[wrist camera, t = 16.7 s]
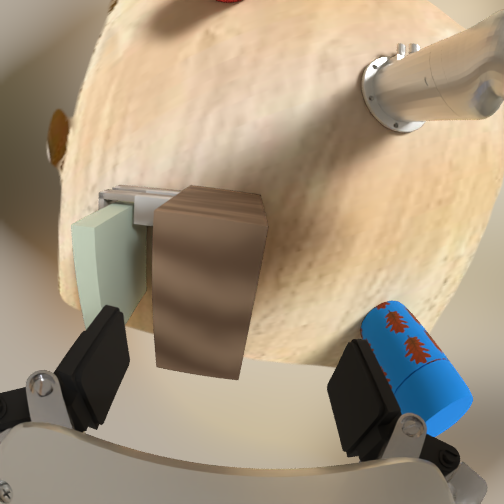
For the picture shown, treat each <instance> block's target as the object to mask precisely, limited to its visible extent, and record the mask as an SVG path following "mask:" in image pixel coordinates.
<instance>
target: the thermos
mask: <svg viewBox="0 0 504 504" xmlns="http://www.w3.org/2000/svg"><path fill="white" fill-rule="evenodd" d="M360 331H361V337H362V339H365V340H367V341H368V343H369V345H370V347H371V349H372V351H373V353H374V355H375V357H376V359H377V361H378V363H379V365H380V367H381V369H382V371H383V373H384V375H385V377H386V379H387V381H388V383H389V385H390V387H391V389H392V391H393V394H394V396H395V398H396V400H397V402H398V404H399V406H400V409H401V414H402V415H403V414H406V413H413V414H416V415H418V416H420V417H421V418H422V419H423V420H424V422H425V423H426V426H427V434H429V435H431V436H433V437H436V436H437V435H439V434H441V433H442V432H444V431H445V430H447V429H448V428H450V427H451V426H452V425H453V424H455V423H456V422H457V421H458V420H459V419H460V418H461V417H462V416H463V415H464V414H465V413H466V412H467V410H468V409H469V408H470V406H471V404H472V402H473V397H472V395H471V392H470V390H469V388H468V387H467V385H466V384H465V382H464V381H463V379H462V378H461V377H460V375H459V374H458V372H457V371H456V369H455V368H454V367H453V365H452V364H451V363H450V362H449V360H448V359H447V357H446V356H445V354H444V353H443V352H442V351H441V349H440V348H439V347H438V346H437V344H436V343H435V341H434V340H433V339H432V337H431V336H430V335H429V334H428V332H427V331H426V330H425V329H424V327H423V326H422V325H421V324H420V322H419V321H418V320H417V319H416V318H415V316H414V315H413V314H412V313H411V312H410V311H409V310H408V309H407V308H406V307H405V306H404V305H403V304H401V303H400V302H398V301H388V302H384V303H381V304H380V305H378V306H376V307H374V308H373V309H372V310H371V311H370V312H369V313H368V314H367V315H366V317H365V319H364V320H363V322H362V325H361V329H360Z"/></svg>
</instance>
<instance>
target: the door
mask: <svg viewBox="0 0 504 504" xmlns="http://www.w3.org/2000/svg"><path fill="white" fill-rule="evenodd" d="M71 229H72V244H73V255H74V264H75V272H76V279H77V286H78V292H79V298H80V304H81V309H82V314H83V319H84V324H85V328H86V329H87V328H88V327H89V325H90V324H91V323H92V321H93V320H94V319H95V317H96V316H97V315H98V313H99V312H100V311H101V310H102V308H103V307H104V306H105V305H110V306H114V307H118V308H119V309H120V312H123V315H124V323H125V324H126V323H127V321H128V320H129V318H130V316H131V315H132V313H133V311H134V310H135V308H136V306H137V305H138V303H139V302H140V300H141V298H142V297H143V295H144V294H145V292H146V291H147V287H146V237H147V225H140V224H134V202H129V201H117V202H115V203H112V204H110V205H108V206H106V207H104V208H102V209H100V210H98V211H96V212H94V213H92V214H90V215H88V216H87V217H85V218H83V219H81V220H79V221H77V222H75V223H73V224H72V225H71Z"/></svg>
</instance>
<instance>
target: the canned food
mask: <svg viewBox="0 0 504 504" xmlns="http://www.w3.org/2000/svg"><path fill="white" fill-rule="evenodd" d="M216 1H220V2H226V3H228V2H238V1H241V0H216Z"/></svg>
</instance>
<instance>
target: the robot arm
mask: <svg viewBox="0 0 504 504" xmlns="http://www.w3.org/2000/svg"><path fill="white" fill-rule="evenodd" d="M405 51H406V46H405V45H404V44H397V55H395V56H394V57H381V58H378V59H376V60H374V61H372V62H371V63H370V64H369V65H368V66H367V67H366V69H365V70H364V73H363V76H362V82H361V85H362V93H363V97H364V100H365V103H366V105H367V107H368V109H369V110H370V112H371V113H372V115H373V116H374V117H375V118H376V119H377V120H378V121H379V122H380V123H381V124H382V125H384V126H385V127H387V128H389V129H391V130H393V131H397V132H412V131H415V130H417V129H419V128H420V127H422V126H423V124H424V123H425V122H426V121H439V120H482V119H486V118H488V117H490V116H492V115H493V114H494V113H495V112H496V111H497V110H498V109H499V107H500V105H501V104H502V102H503V100H504V9H502V10H500V11H497V12H496V13H494V14H492V15H491V16H489V17H488V18H486V19H484V20H483V21H481V22H479V23H478V24H476V25H474V26H473V27H471V28H469V29H467V30H465V31H463V32H460V33H458V34H456V35H453V36H451V37H449V38H446V39H444V40H441V41H439V42H437V43H434V44H432V45H430V46H427V47H425V48H423V49H420V46H418V45H417V44H409V55H407V56H405ZM373 68H374V69H373ZM369 98H370V100H369ZM129 362H130V357H129V351H128V345H127V338H126V331H125V323H124V315H123V312H120V309H119V308H118V307H114V306H110V305H105V306H104V307H103V308H102V310H101V311H100V312H99V313H98V315H97V316H96V317H95V319H94V320H93V321H92V323H91V324H90V325H89V327H88V328H87V329H86V331H83V332H82V333H81V334H80V336H79V337H78V339H77V340H76V341H75V343H74V344H73V346H72V347H71V348H70V350H69V351H68V353H67V354H66V355H65V357H64V358H63V360H62V361H61V363H60V364H59V366H58V367H57V369H56V370H55V372H54V373H52V372H50V371H46V370H40V371H37V372H34V373H33V374H31V375H30V376H29V378H28V379H27V382H26V387H24V388H20V389H16V390H11V391H7V392H3V393H0V504H481V502H482V500H483V498H484V497H485V495H486V492H487V484H486V482H485V480H484V479H483V478H482V477H480V476H479V475H478V474H477V473H476V472H475V471H473V470H472V469H471V468H470V467H469V466H468V465H467V464H465V463H464V462H462V463H460V455H459V453H458V451H457V450H456V449H455V448H454V447H453V446H451V445H449V444H447V443H445V442H443V441H441V440H438V439H437V438H435V437H433V436H431V435H429V434H427V426H426V423H425V422H424V420H423V419H422V418H421V417H420V416H418V415H416V414H413V413H406V414H403V415H402V414H401V409H400V406H399V404H398V402H397V400H396V398H395V396H394V394H393V391H392V389H391V387H390V385H389V383H388V381H387V379H386V377H385V375H384V373H383V371H382V369H381V367H380V365H379V363H378V361H377V359H376V357H375V355H374V353H373V351H372V349H371V347H370V345H369V343H368V341H367V340H365V339H353V340H352V341H351V342H349V343H348V344H347V346H346V348H345V350H344V353H343V355H342V357H341V359H340V361H339V363H338V365H337V367H336V369H335V371H334V373H333V375H332V377H331V379H330V381H329V383H328V386H327V391H328V395H329V399H330V402H331V406H332V410H333V413H334V418H335V421H336V425H337V429H338V433H339V437H340V441H341V445H342V449H343V451H344V452H346V453H347V457H355V456H359V459H360V461H359V463H353V464H345V465H336V466H327V467H316V468H299V469H253V468H235V467H225V466H216V465H207V464H200V463H194V462H187V461H182V460H176V459H171V458H167V457H162V456H158V455H153V454H149V453H145V452H141V451H137V450H134V449H131V448H128V447H124V446H120V445H117V444H114V443H111V442H108V441H105V440H102V439H99V438H96V437H94V436H91V435H88V434H86V433H85V431H86V430H87V428H88V427H91V428H93V429H96V430H97V429H98V426H99V424H100V425H102V424H103V423H104V421H105V419H106V416H107V414H108V411H109V409H110V406H111V404H112V402H113V400H114V397H115V395H116V393H117V390H118V388H119V386H120V384H121V381H122V379H123V377H124V375H125V372H126V370H127V368H128V366H129Z"/></svg>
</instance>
